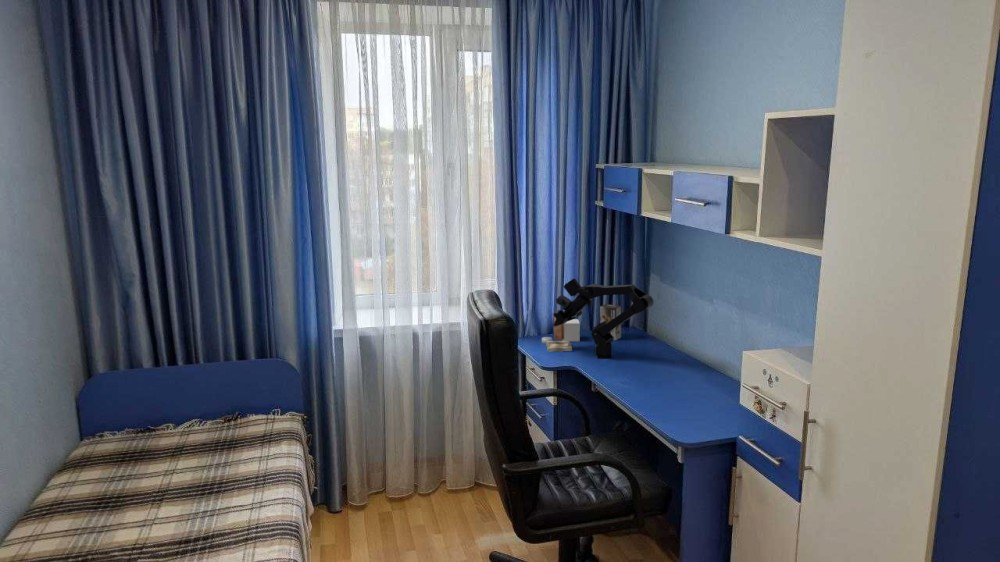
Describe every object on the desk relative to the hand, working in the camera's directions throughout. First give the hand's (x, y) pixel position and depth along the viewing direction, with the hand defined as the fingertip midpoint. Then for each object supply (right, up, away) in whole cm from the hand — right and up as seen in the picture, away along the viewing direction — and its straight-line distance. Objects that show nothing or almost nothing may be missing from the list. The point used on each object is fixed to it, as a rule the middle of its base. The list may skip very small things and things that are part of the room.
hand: (556, 324), depth 316 cm
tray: (+1, -11, +2) cm, 11 cm away
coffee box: (+28, -8, +18) cm, 34 cm away
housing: (+8, -8, +16) cm, 20 cm away
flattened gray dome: (-4, -10, +10) cm, 15 cm away
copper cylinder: (+1, -7, +1) cm, 7 cm away
